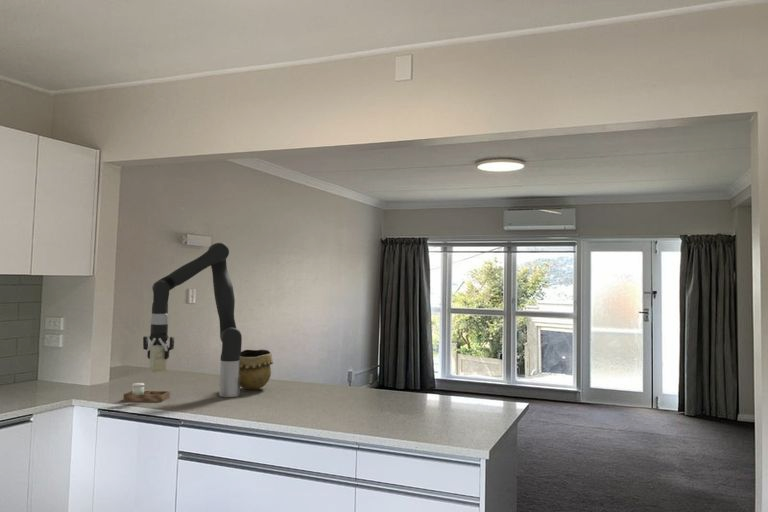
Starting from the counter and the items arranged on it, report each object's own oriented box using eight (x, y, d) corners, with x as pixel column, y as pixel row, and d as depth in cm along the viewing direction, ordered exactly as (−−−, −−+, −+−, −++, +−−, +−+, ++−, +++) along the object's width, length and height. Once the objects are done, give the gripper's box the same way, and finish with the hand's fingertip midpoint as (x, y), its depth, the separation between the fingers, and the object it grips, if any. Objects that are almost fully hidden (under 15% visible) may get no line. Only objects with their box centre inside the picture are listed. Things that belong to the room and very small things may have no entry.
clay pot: (264, 394, 287) (265, 353, 288) (224, 392, 290) (225, 352, 291) (278, 387, 307) (279, 349, 308) (240, 385, 311) (241, 348, 312)
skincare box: (154, 372, 263) (155, 346, 264) (148, 371, 266) (149, 345, 266) (166, 371, 268) (167, 345, 269) (161, 370, 271) (162, 344, 271)
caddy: (169, 399, 271) (170, 391, 271) (162, 403, 261) (162, 395, 262) (132, 398, 271) (132, 390, 271) (123, 402, 262) (123, 394, 262)
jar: (145, 398, 269) (146, 383, 269) (141, 400, 264) (141, 384, 264) (134, 397, 269) (135, 382, 269) (129, 400, 264) (130, 384, 264)
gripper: (177, 323, 272) (176, 358, 271) (147, 322, 272) (146, 357, 271) (171, 324, 264) (170, 360, 263) (140, 323, 264) (139, 359, 263)
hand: (158, 358), depth 267 cm, fingers closed on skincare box, 7 cm apart
